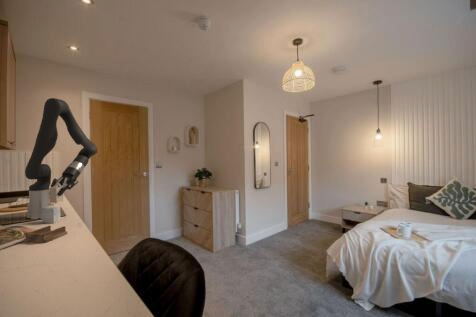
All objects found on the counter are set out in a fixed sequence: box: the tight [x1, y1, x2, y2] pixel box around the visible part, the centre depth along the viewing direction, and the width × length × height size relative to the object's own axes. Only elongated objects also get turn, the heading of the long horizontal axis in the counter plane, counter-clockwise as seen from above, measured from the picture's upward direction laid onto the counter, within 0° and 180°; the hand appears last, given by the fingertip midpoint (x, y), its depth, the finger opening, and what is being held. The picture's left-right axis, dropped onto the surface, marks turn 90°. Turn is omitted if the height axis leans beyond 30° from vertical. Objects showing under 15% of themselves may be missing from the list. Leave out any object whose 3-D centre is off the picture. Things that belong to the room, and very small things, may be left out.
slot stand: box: [23, 225, 68, 244], centre depth 103 cm, size 11×11×4 cm
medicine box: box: [41, 205, 61, 224], centre depth 126 cm, size 8×4×9 cm, turn 84°
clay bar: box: [49, 186, 64, 204], centre depth 117 cm, size 4×4×8 cm
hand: (54, 194), depth 116 cm, fingers closed on clay bar, 4 cm apart
